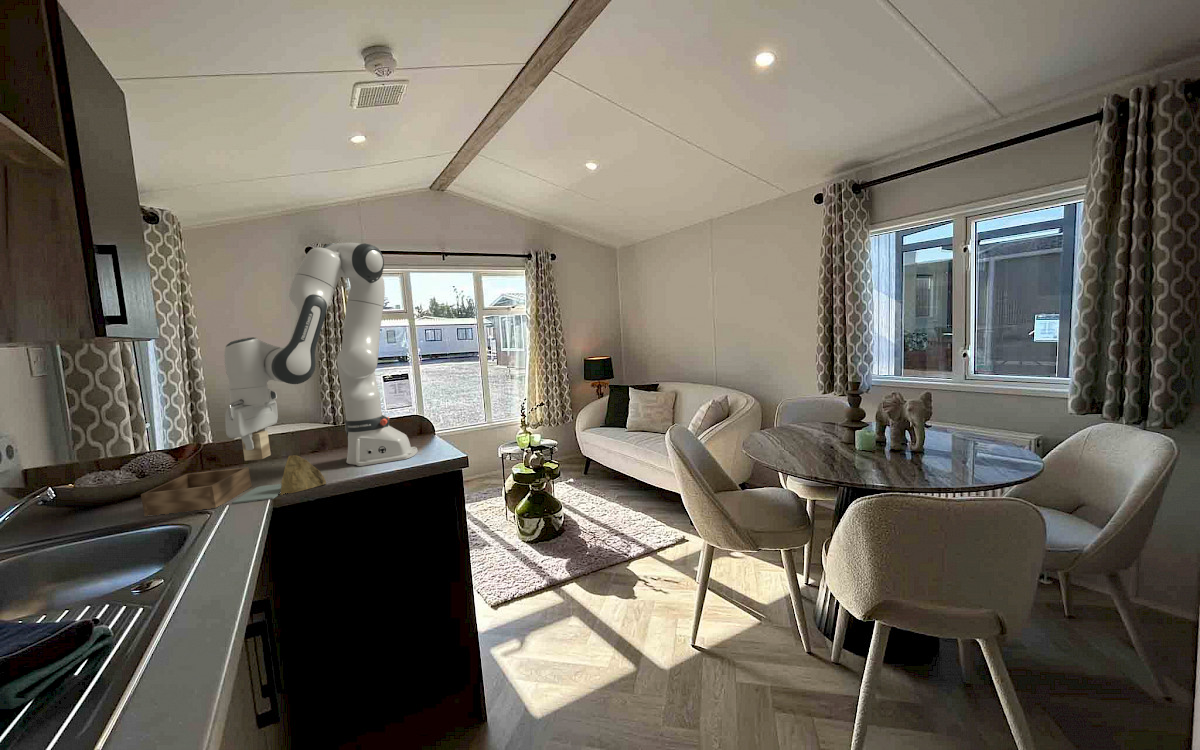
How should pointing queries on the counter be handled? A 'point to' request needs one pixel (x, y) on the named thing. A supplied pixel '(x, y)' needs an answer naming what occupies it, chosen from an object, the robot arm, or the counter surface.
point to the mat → (260, 493)
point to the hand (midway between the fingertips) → (256, 446)
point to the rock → (300, 476)
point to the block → (258, 446)
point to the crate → (196, 491)
